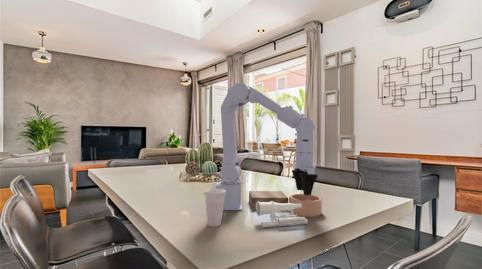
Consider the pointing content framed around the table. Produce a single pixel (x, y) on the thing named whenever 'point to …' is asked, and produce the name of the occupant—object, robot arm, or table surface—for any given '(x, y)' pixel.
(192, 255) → the table surface
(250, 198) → the board
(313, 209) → the bowl
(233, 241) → the table surface
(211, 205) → the smoothie
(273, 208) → the white joined tubes piece
